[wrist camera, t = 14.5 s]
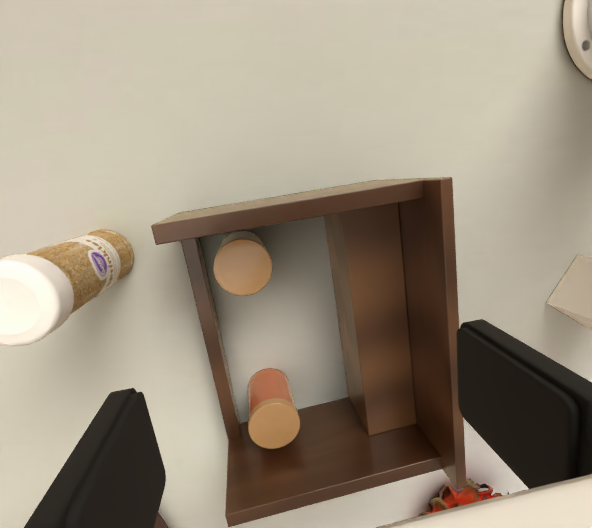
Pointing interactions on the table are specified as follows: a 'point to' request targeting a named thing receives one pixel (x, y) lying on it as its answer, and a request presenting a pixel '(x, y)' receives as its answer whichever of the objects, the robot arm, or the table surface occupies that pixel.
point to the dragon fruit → (459, 497)
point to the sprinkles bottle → (57, 283)
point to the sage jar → (242, 263)
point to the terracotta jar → (271, 409)
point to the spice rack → (352, 345)
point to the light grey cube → (575, 292)
